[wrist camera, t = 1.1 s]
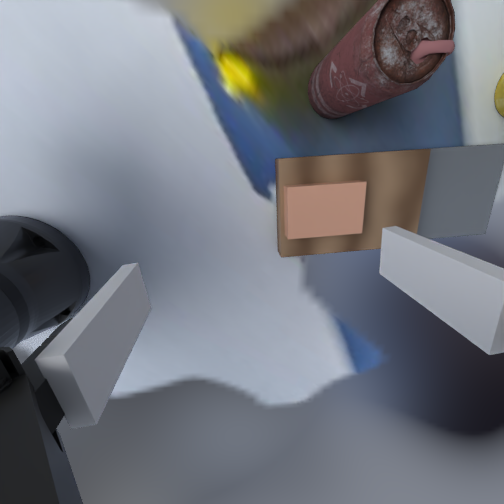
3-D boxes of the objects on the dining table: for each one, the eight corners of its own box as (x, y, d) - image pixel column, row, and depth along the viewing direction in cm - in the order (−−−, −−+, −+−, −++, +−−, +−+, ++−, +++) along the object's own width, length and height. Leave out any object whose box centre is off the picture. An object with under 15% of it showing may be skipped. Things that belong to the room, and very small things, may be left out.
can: (356, 119, 31) (451, 91, 18) (304, 119, 30) (362, 88, 17) (364, 59, 29) (478, -25, 16) (308, 57, 28) (377, -32, 15)
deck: (277, 250, 36) (281, 257, 33) (275, 158, 31) (278, 158, 29) (403, 240, 37) (414, 245, 34) (416, 149, 32) (430, 148, 30)
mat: (403, 240, 37) (404, 240, 36) (416, 149, 32) (418, 149, 32) (482, 233, 37) (485, 233, 37) (505, 143, 33) (508, 143, 33)
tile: (284, 234, 32) (288, 239, 30) (283, 185, 30) (287, 187, 28) (354, 228, 33) (362, 233, 31) (358, 180, 31) (366, 181, 29)
